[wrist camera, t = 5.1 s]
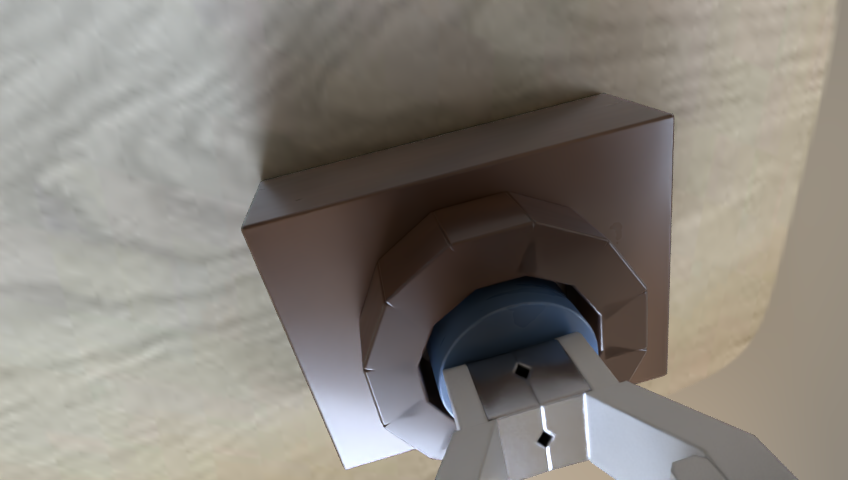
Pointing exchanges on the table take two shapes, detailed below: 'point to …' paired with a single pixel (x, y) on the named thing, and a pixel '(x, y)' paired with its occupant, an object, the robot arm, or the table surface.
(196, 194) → the table surface
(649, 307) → the button base
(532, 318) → the plunger
